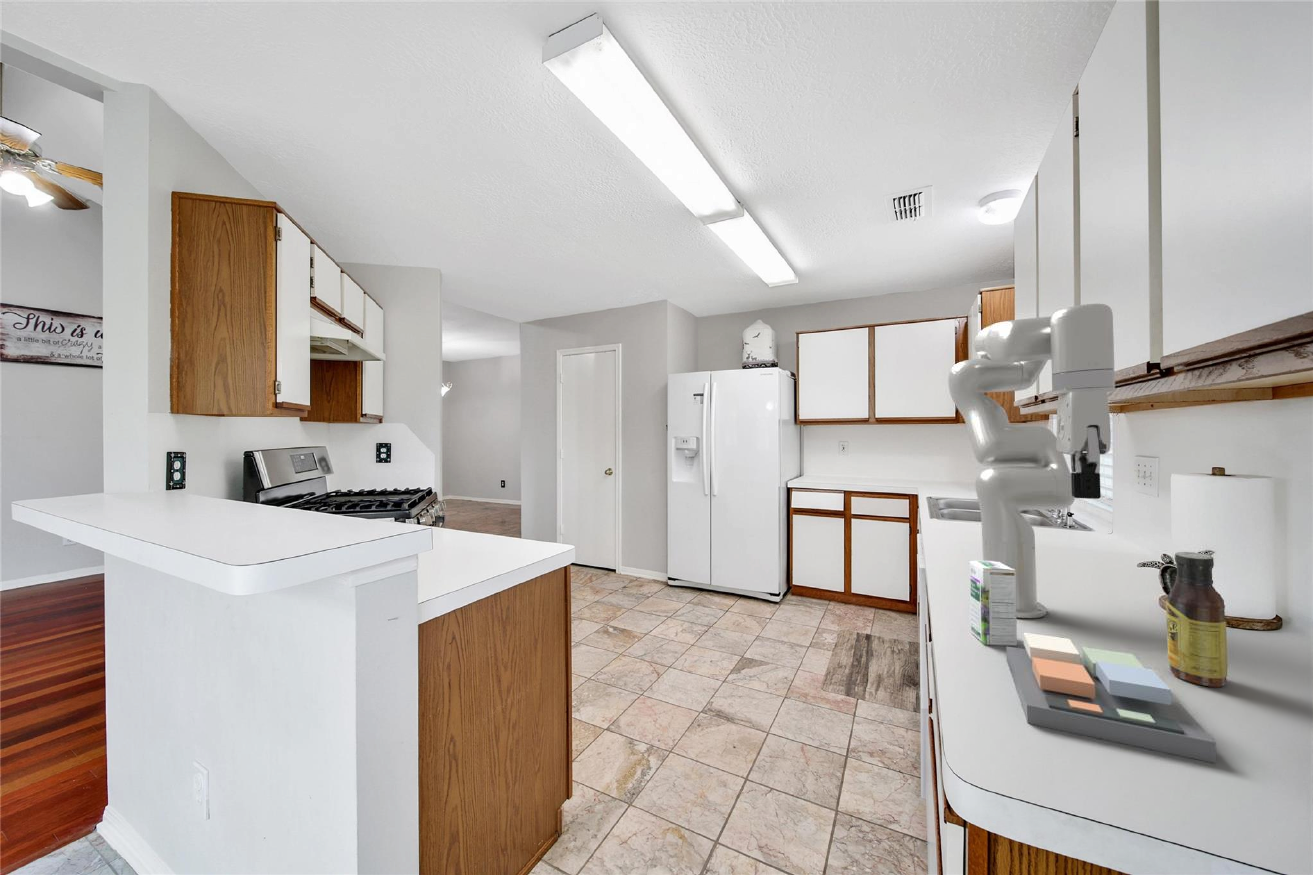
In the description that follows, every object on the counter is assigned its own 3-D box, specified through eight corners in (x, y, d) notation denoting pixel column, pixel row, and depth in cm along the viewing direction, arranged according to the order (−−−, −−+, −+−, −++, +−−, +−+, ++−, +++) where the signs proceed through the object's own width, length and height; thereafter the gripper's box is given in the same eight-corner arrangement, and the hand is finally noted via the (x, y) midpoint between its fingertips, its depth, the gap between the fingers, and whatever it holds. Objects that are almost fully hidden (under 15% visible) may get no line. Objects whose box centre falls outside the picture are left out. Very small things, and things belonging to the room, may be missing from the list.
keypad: (1006, 660, 83) (1006, 642, 83) (1148, 683, 74) (1148, 664, 74) (1027, 722, 66) (1026, 700, 66) (1216, 763, 57) (1215, 737, 57)
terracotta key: (1032, 669, 74) (1032, 657, 74) (1083, 678, 71) (1082, 665, 71) (1040, 688, 69) (1039, 674, 69) (1095, 698, 66) (1094, 684, 66)
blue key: (1096, 674, 70) (1095, 660, 70) (1152, 683, 67) (1151, 669, 67) (1109, 694, 65) (1109, 679, 65) (1171, 704, 62) (1170, 689, 62)
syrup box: (969, 632, 95) (967, 560, 95) (1002, 633, 94) (1000, 560, 94) (984, 645, 89) (981, 568, 89) (1019, 646, 88) (1016, 568, 88)
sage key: (1082, 659, 77) (1081, 646, 77) (1132, 666, 74) (1132, 654, 74) (1093, 676, 72) (1092, 662, 72) (1148, 685, 69) (1147, 671, 69)
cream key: (1023, 644, 81) (1023, 632, 81) (1069, 651, 78) (1069, 638, 78) (1030, 659, 75) (1030, 646, 75) (1080, 667, 72) (1079, 654, 72)
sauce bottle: (1171, 665, 80) (1167, 546, 80) (1229, 679, 75) (1226, 553, 75) (1164, 678, 76) (1161, 554, 76) (1226, 694, 71) (1222, 561, 71)
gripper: (1043, 388, 85) (1046, 491, 85) (1063, 382, 72) (1067, 503, 72) (1098, 385, 81) (1102, 492, 81) (1131, 378, 68) (1135, 505, 68)
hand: (1085, 497), depth 77 cm, fingers closed
